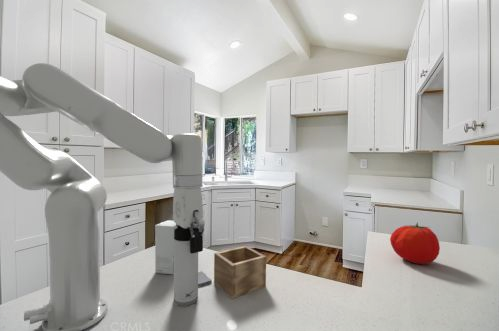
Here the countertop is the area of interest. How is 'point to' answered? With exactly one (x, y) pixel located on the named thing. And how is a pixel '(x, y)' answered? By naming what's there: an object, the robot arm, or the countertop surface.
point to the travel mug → (184, 269)
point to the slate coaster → (203, 279)
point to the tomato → (415, 244)
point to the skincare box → (164, 247)
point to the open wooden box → (239, 271)
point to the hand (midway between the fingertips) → (189, 246)
